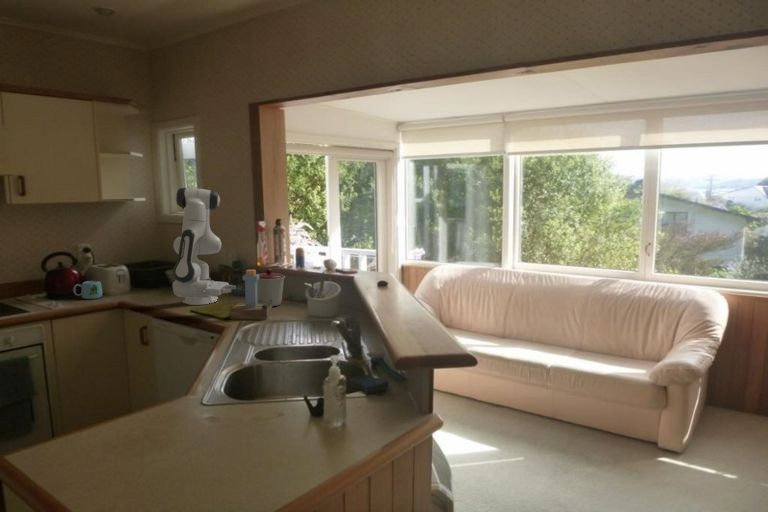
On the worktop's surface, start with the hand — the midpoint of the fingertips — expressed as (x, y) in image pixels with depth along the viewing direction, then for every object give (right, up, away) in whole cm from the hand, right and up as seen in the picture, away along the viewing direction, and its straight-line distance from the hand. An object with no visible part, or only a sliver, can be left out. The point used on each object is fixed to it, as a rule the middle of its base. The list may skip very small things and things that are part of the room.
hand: (233, 289), depth 259 cm
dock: (+9, -14, +2) cm, 17 cm away
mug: (-99, -9, +42) cm, 108 cm away
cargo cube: (+9, +6, 0) cm, 11 cm away
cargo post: (+9, -9, +1) cm, 13 cm away
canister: (+12, -11, +29) cm, 33 cm away
